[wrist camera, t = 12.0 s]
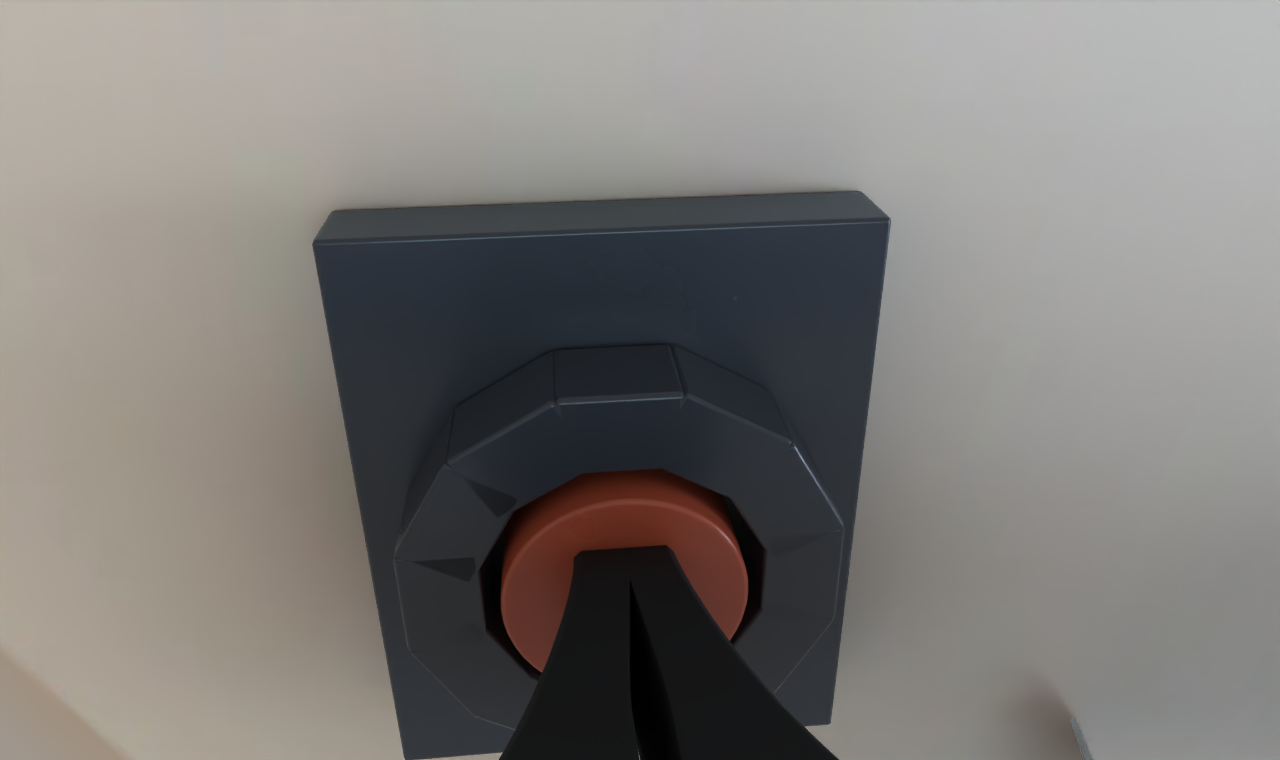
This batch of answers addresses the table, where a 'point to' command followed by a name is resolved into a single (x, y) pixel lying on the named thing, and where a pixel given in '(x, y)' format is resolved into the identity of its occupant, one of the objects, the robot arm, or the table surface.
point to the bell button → (615, 519)
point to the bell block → (599, 413)
